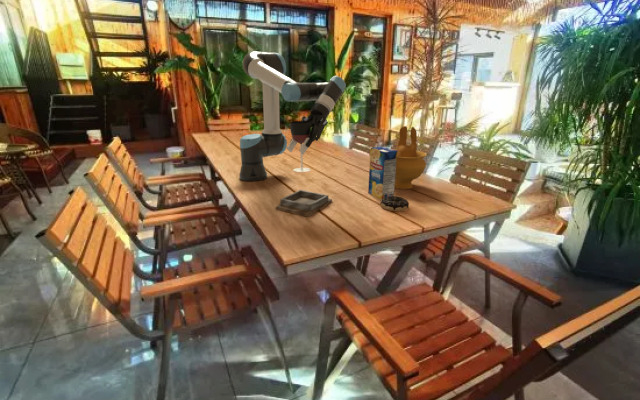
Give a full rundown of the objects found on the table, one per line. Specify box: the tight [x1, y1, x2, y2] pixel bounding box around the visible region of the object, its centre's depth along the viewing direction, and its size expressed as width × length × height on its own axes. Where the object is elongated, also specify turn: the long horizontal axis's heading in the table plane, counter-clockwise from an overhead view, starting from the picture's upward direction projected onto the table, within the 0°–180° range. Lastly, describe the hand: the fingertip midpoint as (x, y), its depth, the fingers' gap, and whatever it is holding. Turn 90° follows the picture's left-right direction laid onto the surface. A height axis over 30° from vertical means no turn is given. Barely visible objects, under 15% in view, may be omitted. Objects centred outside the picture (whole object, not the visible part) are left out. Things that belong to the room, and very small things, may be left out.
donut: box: [379, 195, 410, 213], centre depth 141 cm, size 11×12×4 cm
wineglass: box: [289, 120, 312, 173], centre depth 138 cm, size 8×9×20 cm
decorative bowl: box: [392, 125, 427, 190], centre depth 166 cm, size 21×21×30 cm
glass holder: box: [275, 189, 333, 218], centre depth 143 cm, size 16×20×4 cm
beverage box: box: [367, 146, 397, 201], centre depth 153 cm, size 7×11×22 cm, turn 26°
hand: (295, 151), depth 136 cm, fingers closed on wineglass, 7 cm apart
